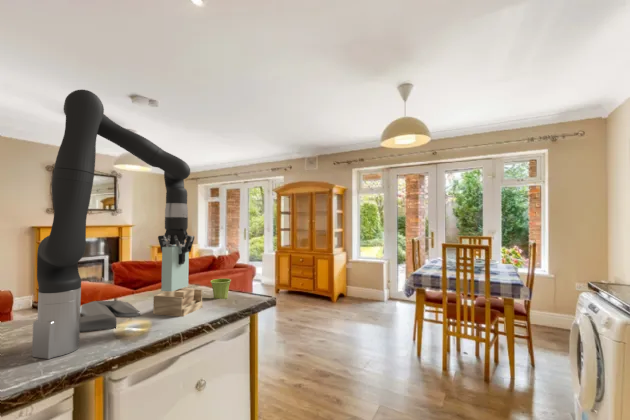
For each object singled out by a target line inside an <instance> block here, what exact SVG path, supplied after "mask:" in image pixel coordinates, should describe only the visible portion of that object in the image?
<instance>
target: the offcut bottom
mask: <svg viewBox="0 0 630 420" xmlns="http://www.w3.org/2000/svg"><path fill="white" fill-rule="evenodd" d="M193 304H196V300H194V301H193V302H190V303H188V304H186V305H184V306H183V309H184V308H186V307H189V306H191V305H193Z"/></svg>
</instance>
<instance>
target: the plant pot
mask: <svg viewBox="0 0 630 420" xmlns="http://www.w3.org/2000/svg"><path fill="white" fill-rule="evenodd" d="M231 282H232V279H230V278H216V279H212V280H210V284H211V287H212V292H213V294H212V295H213V299H215V300H217V299H218V300H227V299H228V295H229V291H230V290H229V288H230V284H231Z"/></svg>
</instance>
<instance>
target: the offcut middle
mask: <svg viewBox="0 0 630 420" xmlns="http://www.w3.org/2000/svg"><path fill="white" fill-rule="evenodd" d="M193 301H194V295H193V296H190V297H187V298H184V299H183V306H184V305H186V304H188V303H190V302H193Z"/></svg>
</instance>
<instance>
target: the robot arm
mask: <svg viewBox="0 0 630 420" xmlns="http://www.w3.org/2000/svg"><path fill="white" fill-rule="evenodd" d="M63 113H64V115H65V128H64V134H63V137H62V141H61V144H60V146H59V148H58V151H57V155H56V159H55V162H54V168H53V172H52V180H51V197H52V203H53V220H52V223H51V224H52V225H51V230H50V233H49V235H47V236H46V237H43V239H42V240H41V241H40V242H39V244H38V247H37V254H36V269H37V270H36V280H37V284H38V297H37V298H38V299H37V301H38V302H37V319H36V320H34V321H33V324H32V346H31V348H32V351H31V357H33V358H40V359H46V360H47V359H48V360H50V359H52V358H56V357H61V356H64V355H67V354H71V353H72V352H75V351H76V350H78V349H79V348H80V337H81V336H80V334H81V332H80V316H81V299H82V278H81V276H80V272H79V262H80V261H81V259H82V258H83V257H84V255H85V253H86V246H87V243H86V241H87V240H86V239H87V237H86V236H87V216H88V211H89V207H90V204H91V203H90V202H91V196H92V191H93V186H94V178H95V170H96V169H95V168H96V155H97V154H96V150H97V149H96V148H97V147H96V146H97V143H96V142H97V137H98V136H100V137H102V138H104V139H106V140H108V141H110V142H111V143H113V144H115V145H117V146H118V147H120V148H122V149H123V150H124V151H126V152H129V154H131V155H133V156H135V157H137V159H139V160H141V161H142V162H144V163H145V164H147V165H148V166H151V167H153V168H157V169H158V168H159V169H160V170H162V171H163V172H164V173H163V179H164V184H165V191H166V193H165V208H164V230H165V233H164V234H162V235H158V237H157V240H158V242H159V247H160V251H161V252H162V247H170V246H177V247H178V248H179V250H178V251H179V262H178V264H179V265H181V264H184V262H185V253H186V252H191V250H192V247H193V244H194V241H195V236H194V235H190V234H188V231H187V230H188V227H189V226H188V224H189V223H188V222H189V217H188V216H189V208H188V191H187V189H186V188H185V180H186V179H188V178H189V177H190V175H191V168H190V165H189V164H188V163H187V162H186V161H185V160H183V159H182V158H180V157H178V156H176V155H174V154H173V153H170V152H167V151H165V150H164V149H162V147H159V146H158V145H157V144H155V143H154V142H152V141H151V140H149V139H148V138H146V137H144V136H143V135H141V134H138V133H136V132H135V131H131V130H130V129H127V128H125V127H123V126H121V125H120V124H117V123H116V122H115V121H113V120H112V119H111V118H109V117H108V116H107V115H106V114H104V113H105V109H104V104H103V101H102V100H101V99H100V97H98V95H97V94H96V93H94V92H93V91H90V90H88V89H76V90H73V91H71V92H70V93H69V94H68V95H67V96H66V97H65V100H64V104H63Z"/></svg>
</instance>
